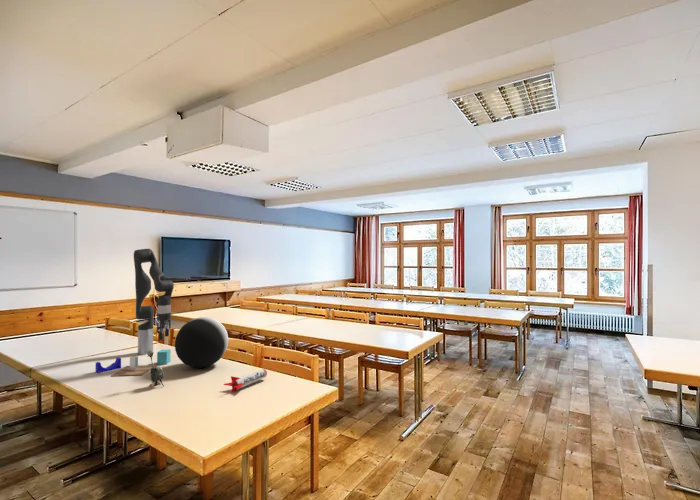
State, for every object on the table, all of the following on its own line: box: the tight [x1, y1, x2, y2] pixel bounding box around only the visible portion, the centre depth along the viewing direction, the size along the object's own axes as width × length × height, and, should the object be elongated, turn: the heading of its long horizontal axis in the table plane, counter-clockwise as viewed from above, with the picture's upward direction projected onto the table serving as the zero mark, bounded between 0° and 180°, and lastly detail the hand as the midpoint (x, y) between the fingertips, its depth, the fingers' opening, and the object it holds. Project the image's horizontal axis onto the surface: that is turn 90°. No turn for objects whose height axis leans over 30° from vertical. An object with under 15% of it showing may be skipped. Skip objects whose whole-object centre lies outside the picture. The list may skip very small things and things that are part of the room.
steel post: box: [129, 355, 139, 371], centre depth 200 cm, size 3×3×8 cm
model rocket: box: [223, 368, 268, 393], centre depth 177 cm, size 11×23×10 cm, turn 149°
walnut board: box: [110, 364, 156, 378], centre depth 200 cm, size 16×16×1 cm
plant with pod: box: [147, 350, 165, 387], centre depth 177 cm, size 8×11×20 cm
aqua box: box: [156, 349, 172, 366], centre depth 217 cm, size 6×6×8 cm
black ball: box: [174, 316, 229, 369], centre depth 211 cm, size 30×30×30 cm
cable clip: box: [95, 357, 122, 374], centre depth 204 cm, size 12×4×6 cm, turn 145°
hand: (163, 337), depth 217 cm, fingers open, 8 cm apart
